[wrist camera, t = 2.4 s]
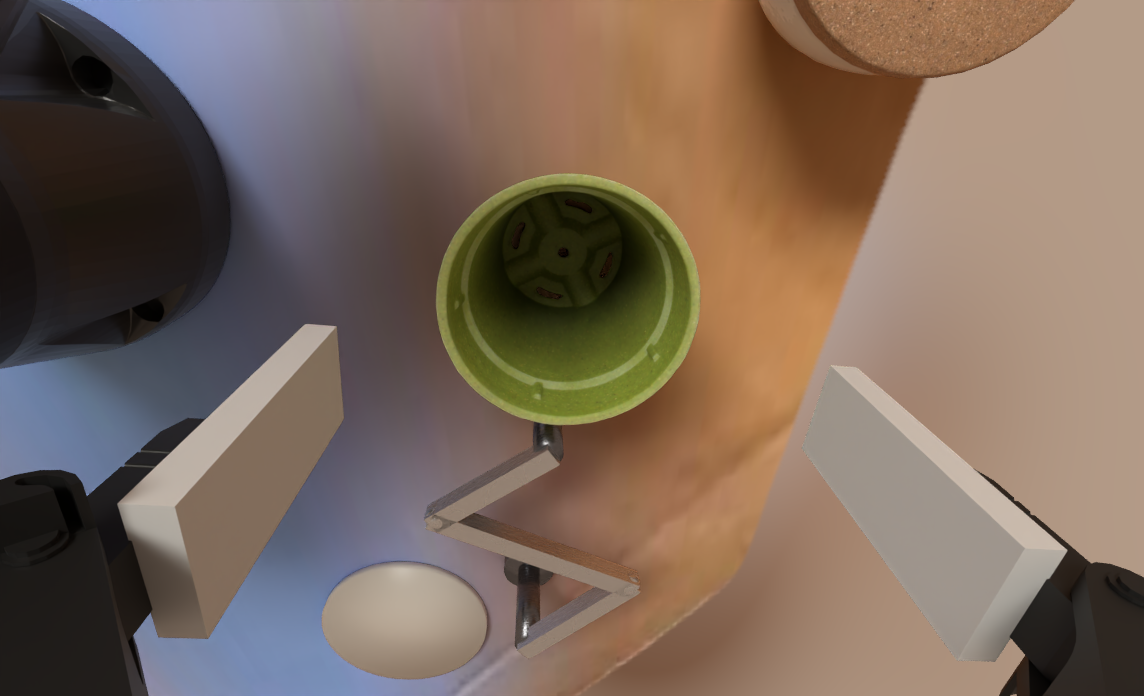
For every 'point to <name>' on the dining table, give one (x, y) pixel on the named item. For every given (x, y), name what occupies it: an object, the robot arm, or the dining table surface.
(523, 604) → the zigzag bar on posts
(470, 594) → the pad
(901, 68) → the lidded jar
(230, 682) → the dining table surface
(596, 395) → the plant pot
